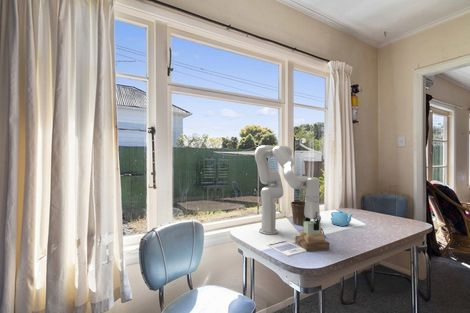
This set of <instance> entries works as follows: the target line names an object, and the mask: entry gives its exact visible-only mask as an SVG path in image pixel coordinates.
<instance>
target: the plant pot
mask: <svg viewBox="0 0 470 313" xmlns="http://www.w3.org/2000/svg"><path fill="white" fill-rule="evenodd" d="M290 205H291V206H290V207H291V211H292V212H291V213H292V223H293V224H294V225H296V226H302V227H303V223H304V221H305V215H304V210H305V201H302V200H301V201H300V200H295V201H291V202H290Z"/></svg>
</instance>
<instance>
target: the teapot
mask: <svg viewBox="0 0 470 313" xmlns="http://www.w3.org/2000/svg"><path fill="white" fill-rule="evenodd" d="M330 215H331V217H330V222H331V223H332V225H334V224H335V225H336V226H338V225H339V226H338V227H346V226H345V225H347V226H349V225H350V223H351V221H352V217H353V215H354V214H353V213H350V214H348V213H347V212H345V211H343V210H338V211H332V212H331V213H330Z"/></svg>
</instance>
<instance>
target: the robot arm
mask: <svg viewBox="0 0 470 313" xmlns="http://www.w3.org/2000/svg"><path fill="white" fill-rule="evenodd" d="M254 151H255V152H254V160H255V163H256V165H257V166H256V167H257V171H258V175H259V181H260V182H261V184H263V185H267V186H264V187H262V188H261V190H260V197H261V198H260V200H261V227H260V228H259V232H260V234H264V235H276V234H278V233H279V230H278V229H276V225H277V224H276V222H277V221H276V219H277V218H276V216H277V213H276V210H277V208H276V205H277V204H276V202H275V200H278V199H281V198H282V197H283V196H284V187H283V183H282V178H281V175H280V173H279V172H278V171H277V170H275V169H274V170H271V166H270V162H269V161H268V160H267V158H274V159H275V160H276V161H277V163H278V164H279V165H280V167H281V168H282V173H283V174H282V175H283V179H285V180H284V181H286V183H287V185H288V186H289V187H290V188H291V189H293V190H303V189H305V201H304V202H305V210H304V215H305V221H314V231H316V230H319V224H320V223H321V222H322V221H321V219H322V217H321V215H320V213H321V212H320V178H318V177H315V176H314V177H313V176H312V177H310V176H306V175H299V176H298V175H296V174H295V173H294V171H293V169H292V168H293V167H294V165H295V161H294V159H293V158H292V154H293V150H292V149H291V147H290V146H287V145H269V144H267V145H265V144H261V145H259V146H258V147H257V148H256V149H255V150H254Z"/></svg>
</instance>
